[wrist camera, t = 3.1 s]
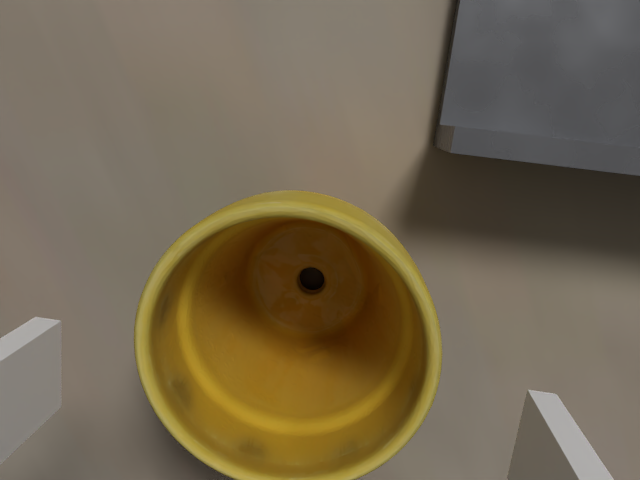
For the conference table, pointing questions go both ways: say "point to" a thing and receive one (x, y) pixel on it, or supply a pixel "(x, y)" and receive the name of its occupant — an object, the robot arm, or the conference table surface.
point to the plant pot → (288, 340)
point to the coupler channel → (544, 83)
